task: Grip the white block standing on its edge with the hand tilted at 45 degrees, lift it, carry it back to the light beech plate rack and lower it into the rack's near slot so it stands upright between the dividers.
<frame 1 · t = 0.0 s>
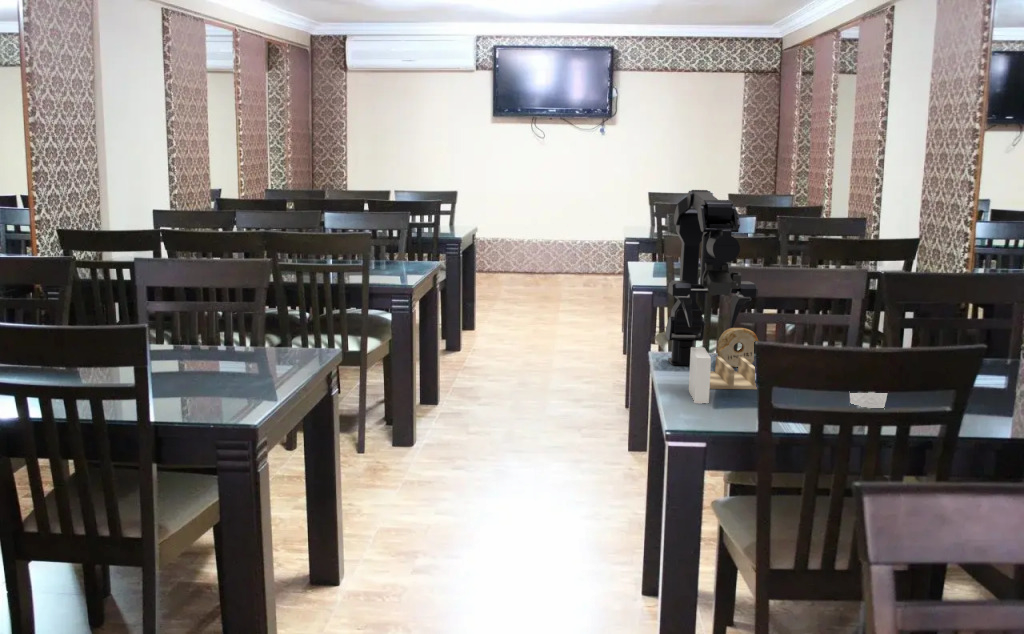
hand: (710, 327, 209), 15 cm above the table, tool pointing down, fingers open, 9 cm apart
white block: (698, 397, 207), on the table
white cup: (866, 413, 197), on the table
plate rack: (723, 381, 221), on the table
stone disc: (736, 367, 237), on the table
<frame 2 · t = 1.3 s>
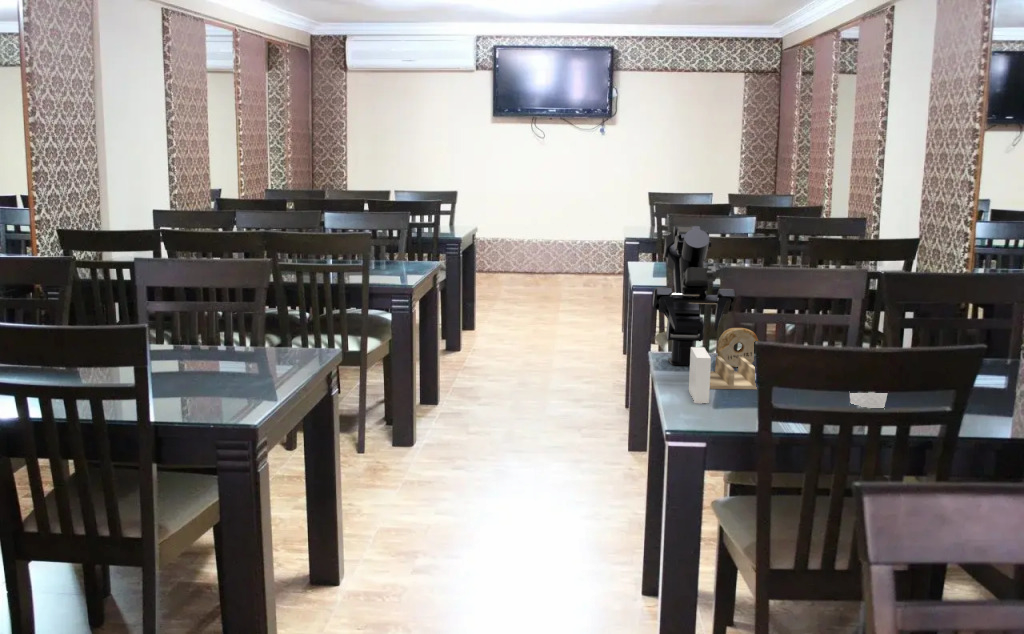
hand: (695, 329, 214), 13 cm above the table, tool tilted 45°, fingers open, 9 cm apart
nothing on the table moved.
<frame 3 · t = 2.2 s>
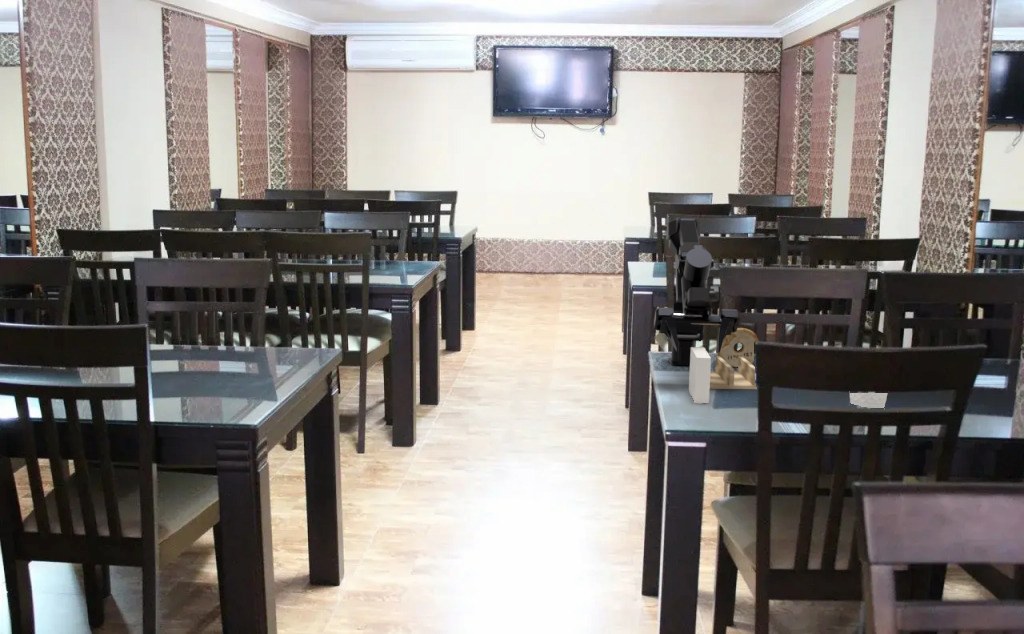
hand: (698, 350, 210), 9 cm above the table, tool tilted 45°, fingers open, 9 cm apart
nothing on the table moved.
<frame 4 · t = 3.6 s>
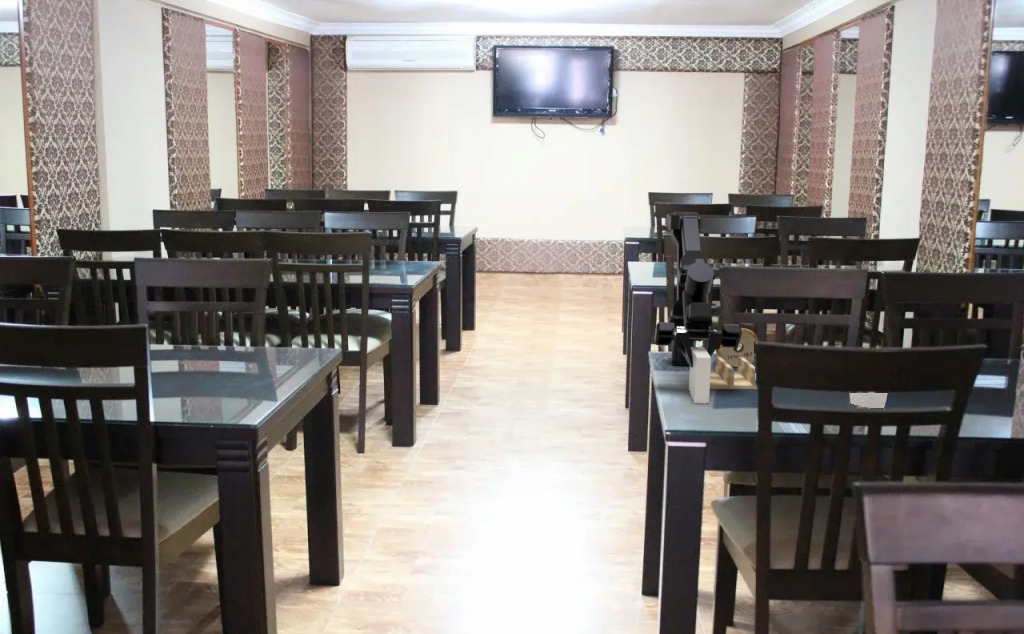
hand: (699, 366, 207), 7 cm above the table, tool tilted 45°, fingers closed on white block, 3 cm apart
white block: (698, 396, 207), on the table, touching gripper
everything else where it was.
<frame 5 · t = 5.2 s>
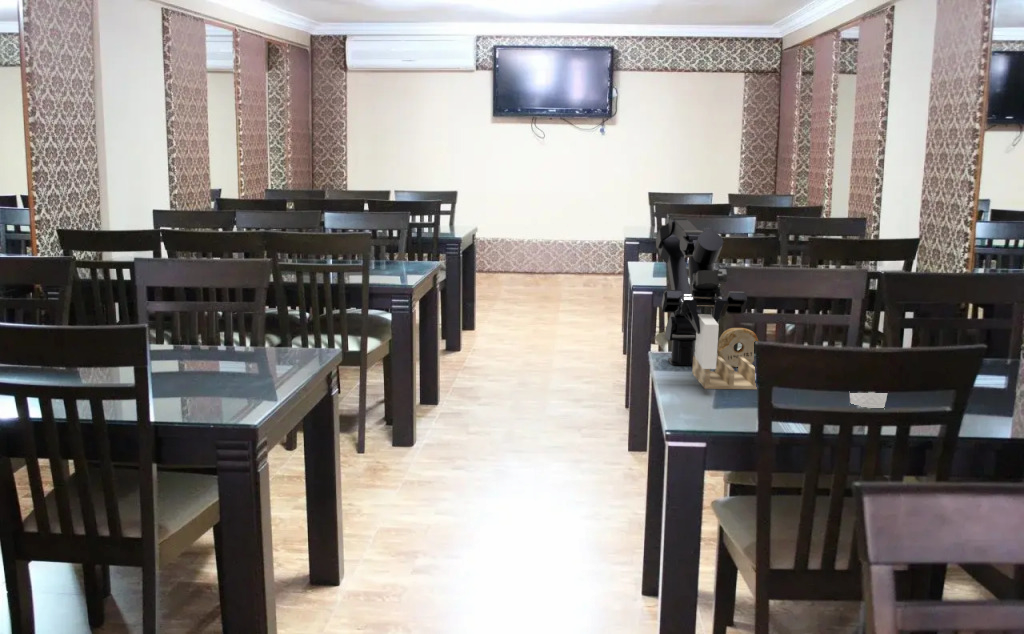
hand: (706, 333, 212), 13 cm above the table, tool tilted 45°, fingers closed on white block, 3 cm apart
white block: (705, 362, 213), point 6 cm above the table, touching gripper
everything else where it was.
when the fingers open (10 cm above the table, at t = 6.7 s): white block drops 2 cm, resting on plate rack.
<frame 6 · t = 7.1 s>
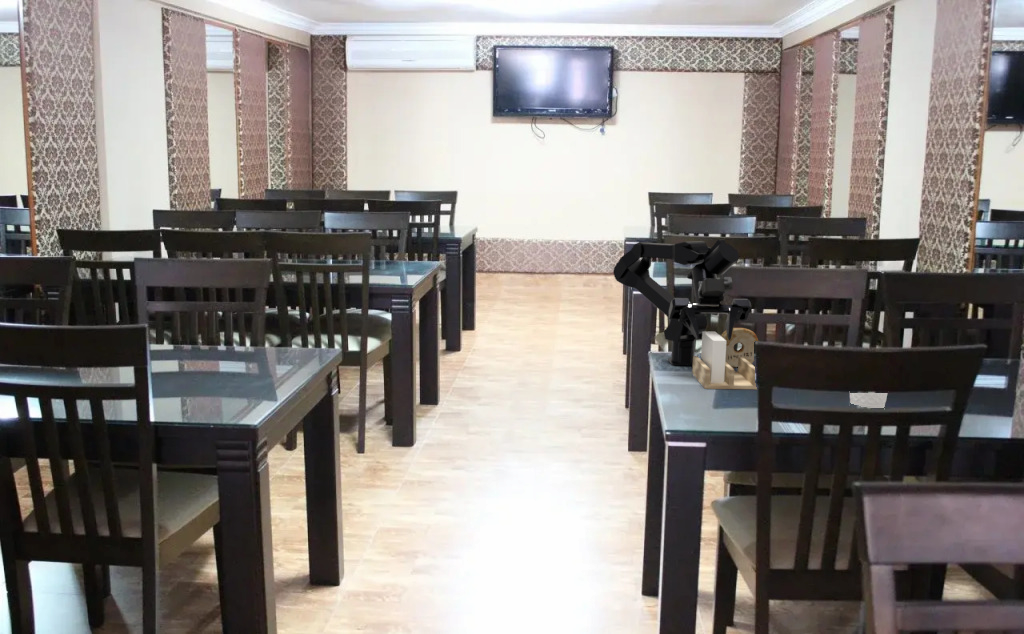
hand: (713, 338, 220), 10 cm above the table, tool tilted 45°, fingers open, 7 cm apart
white block: (711, 377, 221), point 1 cm above the table, touching plate rack
everything else where it was.
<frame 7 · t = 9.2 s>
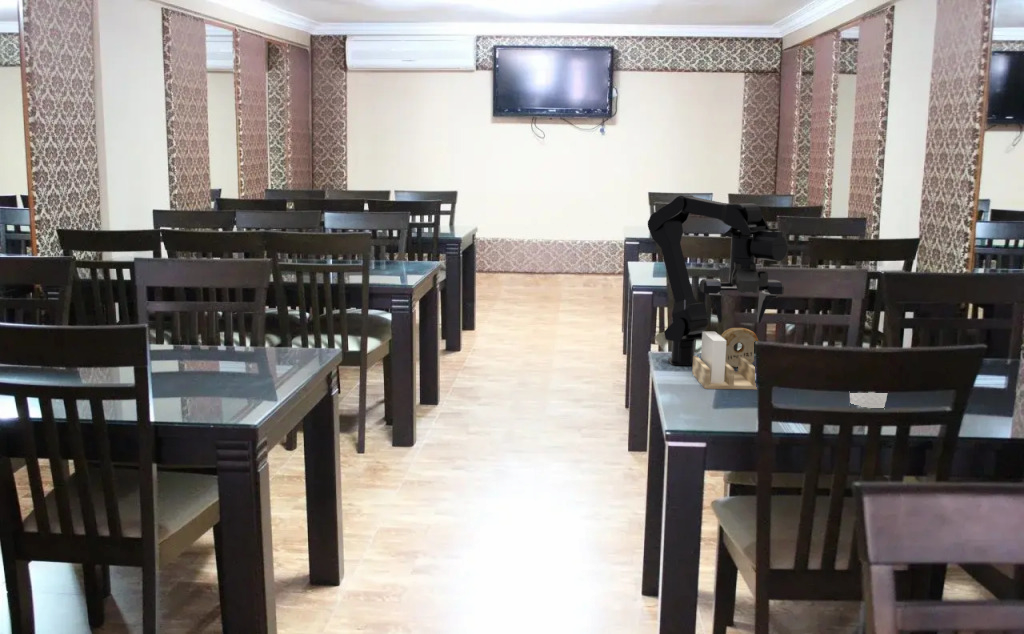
hand: (739, 322, 224), 13 cm above the table, tool pointing down, fingers open, 9 cm apart
nothing on the table moved.
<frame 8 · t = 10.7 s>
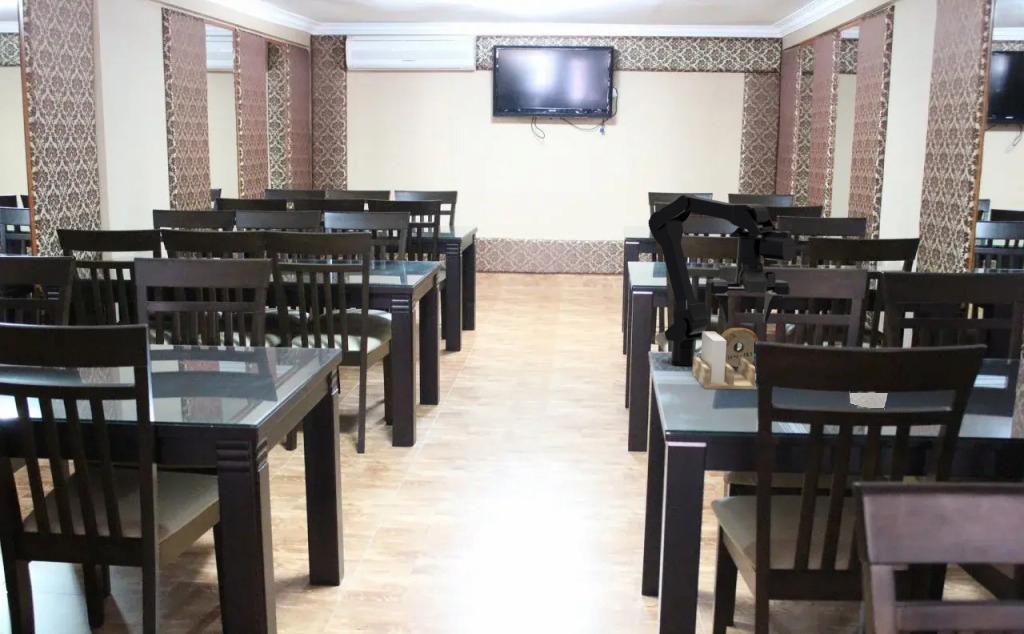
hand: (745, 322, 225), 13 cm above the table, tool pointing down, fingers open, 9 cm apart
nothing on the table moved.
at the end: white block inside the target area on the plate rack (0.4 cm from its centre), point 0.8 cm above the plate rack's base; white block tilted 0°; the gripper is holding nothing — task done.
